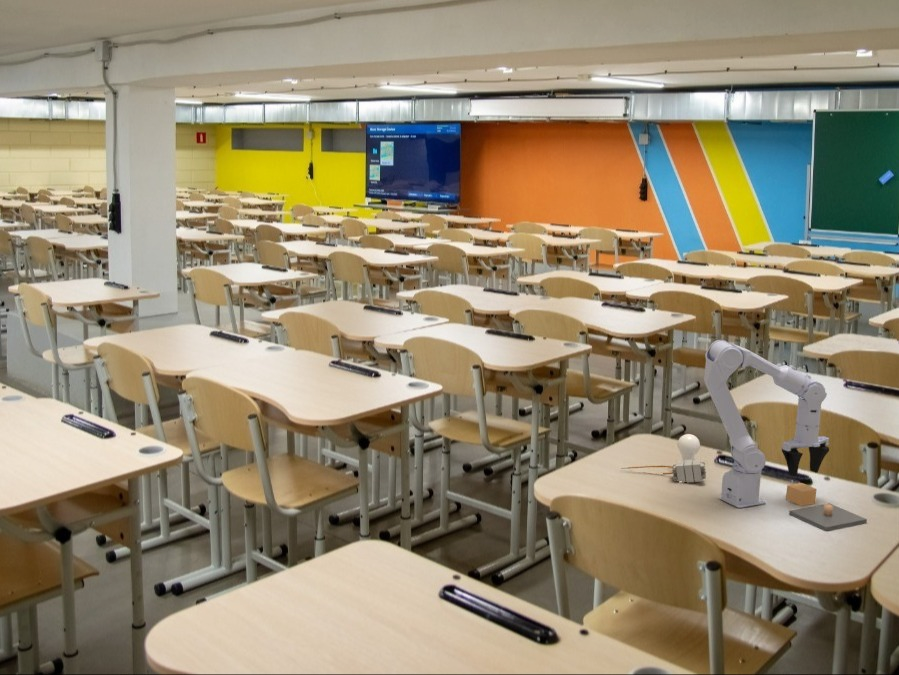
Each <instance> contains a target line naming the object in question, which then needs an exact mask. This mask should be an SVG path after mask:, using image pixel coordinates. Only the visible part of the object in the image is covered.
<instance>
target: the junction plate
mask: <svg viewBox="0 0 899 675" xmlns="http://www.w3.org/2000/svg"><path fill="white" fill-rule="evenodd" d="M788 515H790V516H792V517H794V518H795V519H799V520H801V521H803V522H806V523H808V524H809V525H811V526H814V527H816V528H818V529H819V530H820V529H821V530H823V531H825V532H829V531H834V530H838V529H839V530H840V529H843V528H848V527H853V526H858V525H863V524H867V521H868V520H867V518H865V517H863V516H860V515H859V514H856V513H853V512H850V511H848V510H847V509H844V508H841V507H839V506H837V505H835V504H832V503H823V504H818V505H813V506H812V505H811V506H806V507H802V508H797V509H791V510H789V513H788Z"/></svg>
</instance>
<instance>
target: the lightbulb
mask: <svg viewBox="0 0 899 675" xmlns="http://www.w3.org/2000/svg"><path fill="white" fill-rule="evenodd" d="M677 448H678V451H679V453H680V454H681V459H682V460H684V462H685V460H692V462H693V460H694V458H695V456H696V455H697V453H699V450H700V448H701V443H700V440H699V438H698V437H697V436H696V435H694V434H692V433H685V434H684V435H682V436H680V437H679V439H678V441H677ZM682 460H681V461H682Z"/></svg>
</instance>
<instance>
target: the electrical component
mask: <svg viewBox="0 0 899 675" xmlns="http://www.w3.org/2000/svg"><path fill="white" fill-rule="evenodd" d="M620 468H621V469H620V470H625V469H640V468H641V469H642V468H670V469H672V471H671V472H662V473H663V474H662V475H673V476H672V477H673V482H678V481H682V482H687V483H694V482H695V483H699V482H703V480H706V479H707V478H706V476H707V471H706V470H707V469H706V463H705V462H704V461H703V462H702V461H701V458H698V459H697V458H696V459H693V461H692V460H685V462H684V460H676V462H675V464H673V466H672V465H646V466H629V467H620Z"/></svg>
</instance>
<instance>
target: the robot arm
mask: <svg viewBox="0 0 899 675" xmlns="http://www.w3.org/2000/svg"><path fill="white" fill-rule="evenodd" d="M704 355H705V357H704V358H705V365H704V372H703V374H704V376H703V382H704V384H705V387H706V389H707V391H708V393H709V395H710V398H711V400H712V403H713V404H714V406H715V409H716V411H717V413H718V416H719V418H720V420H721V422H722V424H723V426H724V429H725V431H726V433H727V435H728V438H729V444H730V455H731V457H732V459H733V461H734V462H733V463H732V464H733V465H732V468H731V469H730V470H728V471H726V472H724V474H723V475H722V478H721V479H722V482H721V494H720V495H721V496H718V499H719V500H721V501H724V502H725V503H728V504H730V505H731V506H734V507H736V508H738V509H741V508H746V507H752V506H753V507H754V506H758V505H764V504H766V503H767V501H766V500H764V499H761V498H760V491H761V490H760V489H761V480H762V478H761V477H762V469H764V467H765V465H766V464H767V463H766V462H767V460H766V456H765V454H764V453H763V451H761V450H760V449H759V448H758V447H757V445H756V443H755V441H754V440H753V438H752V437H751V435H750V434H749V432H748V431H749V430H748V429H747V427H746V425H745V424H746V423H745V422H744V420H743V418H742V415H741V413H740V411H739V409H738V406H737V404H736V403H735V400H734V398H733V395H732V394H731V393H732V392H731V391H730V389H729V387H728V384H727V382H728V380H729V378H730V376H732V374H733V373H734V372H735V371H737V369H738V368H739V367H741V368H742V369H743V368H746V367H752V368H754V369H755V370H757V371H759V372H761V373H764V374H766V375H768V376H770V377H772V380H773V382H774V384H775V385H776V386H778V387H780V388H781V389H784V390H786V391H787V392H789V393H791V394H793V395H795V396H797V397H798V401H797V411H796V422H795V433H794V434H795V435H794V438H791V439H789V440H787V441H783V442H782V448H781V452H782V454H783V456H784V458H785V462H786V465H787V470H788V475H789V476H792V477H797V475H798V472H799V464H800V461H801V459H802V457H803V455H804V453H802V452H800V451H799V450H798V449H805V448H808V452H809V471H810V472H813V473H815V474H816V473H818V472H819V470H820V467H821V466H822V462H823V460H824V459H825V457H826V455H827V454H828V453H829V452H830V447H828V446H829V444H830V438H829V437H826V436H824V435H823V436H819V434H820V424H821V422H820V421H821V413H822V412H821V411H822V404H823V402H824V401H825V400H826V398H827V394H828V393H827V392H826V389H825V387H824V385H823V384H822V383H821V382H819V381H817V380H815V379H814V378H812V376H811V375H810V374H808V373H807V374H804V373H802V372H800V371H798V370H796V369H797V367H795V366H794V365H792V364H789V366H788V365H786V364H784V365H780V366H779V365H776V364H774V363H772V362H770V361H769V360H767V359H766V358H763V357H762V356H760V355H758V354H757V353H755V352H752V351H751V350H749V349H747V348H745V347H742V346H740V345H737V344H736V343H735V344H734V343H731V344H730V342H728V341H727V340H724V339H717V340H715V341H713V342H712V343H711V344H710V345H709V347H708V348H707V351H706V352H705V354H704Z"/></svg>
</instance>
